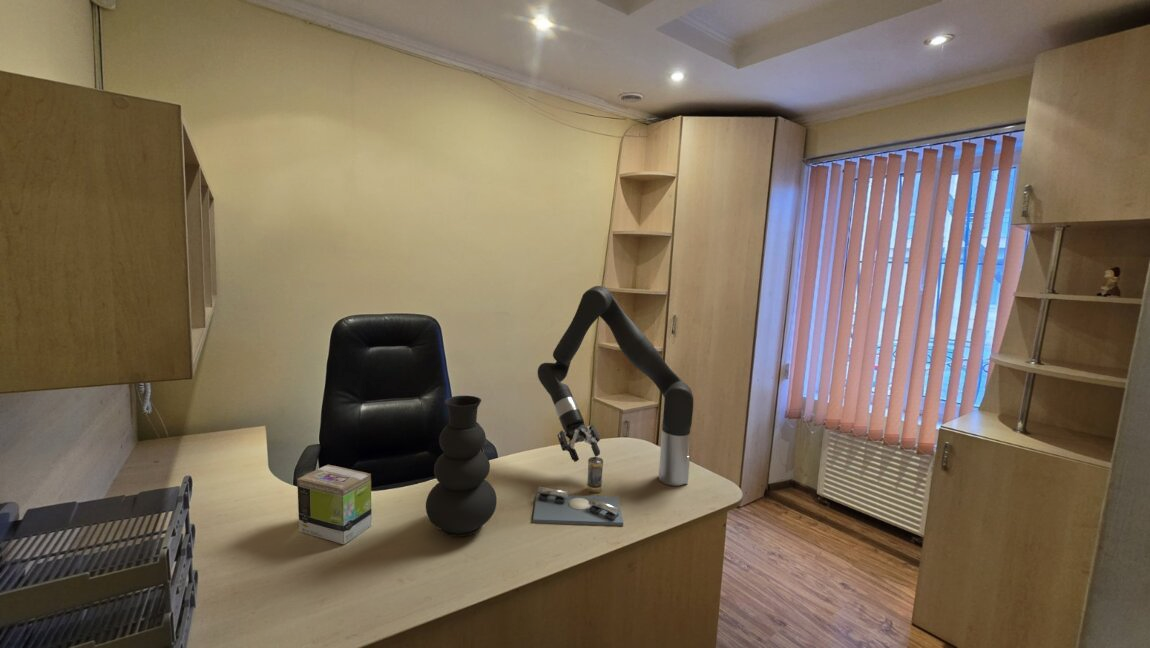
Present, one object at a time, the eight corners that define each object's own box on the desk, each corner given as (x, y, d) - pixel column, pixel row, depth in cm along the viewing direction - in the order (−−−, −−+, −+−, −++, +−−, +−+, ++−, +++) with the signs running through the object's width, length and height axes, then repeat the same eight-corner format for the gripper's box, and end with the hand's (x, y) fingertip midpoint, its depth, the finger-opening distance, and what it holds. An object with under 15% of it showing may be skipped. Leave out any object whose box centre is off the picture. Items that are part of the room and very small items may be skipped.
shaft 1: (568, 502, 141) (569, 489, 140) (565, 508, 137) (566, 494, 137) (540, 497, 143) (540, 484, 142) (536, 503, 140) (537, 489, 139)
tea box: (373, 525, 125) (372, 472, 123) (343, 546, 115) (342, 490, 113) (329, 513, 129) (328, 462, 127) (297, 532, 120) (295, 478, 118)
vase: (423, 514, 131) (423, 392, 126) (489, 504, 138) (491, 389, 133) (428, 553, 114) (428, 414, 109) (502, 540, 121) (506, 409, 116)
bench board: (618, 500, 143) (618, 496, 143) (623, 525, 130) (623, 521, 129) (536, 497, 143) (536, 493, 143) (533, 522, 129) (533, 518, 129)
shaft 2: (586, 514, 135) (587, 500, 134) (593, 508, 138) (593, 495, 137) (613, 525, 130) (614, 510, 129) (619, 519, 133) (620, 505, 132)
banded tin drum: (601, 486, 152) (602, 457, 150) (602, 493, 147) (603, 463, 146) (586, 485, 152) (587, 456, 150) (586, 493, 147) (588, 463, 146)
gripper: (556, 411, 152) (574, 457, 145) (590, 405, 161) (610, 448, 153) (546, 422, 157) (564, 467, 150) (580, 415, 166) (599, 458, 158)
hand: (587, 458), depth 151 cm, fingers open, 8 cm apart
